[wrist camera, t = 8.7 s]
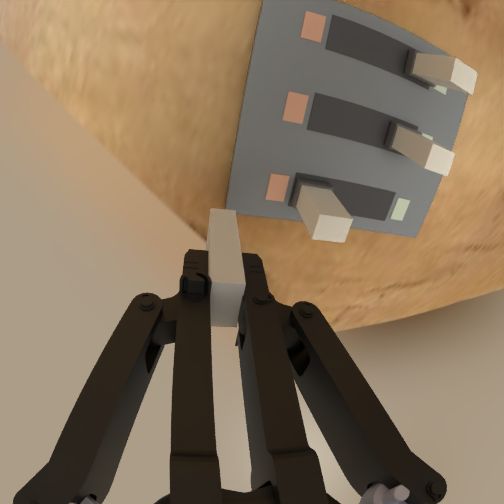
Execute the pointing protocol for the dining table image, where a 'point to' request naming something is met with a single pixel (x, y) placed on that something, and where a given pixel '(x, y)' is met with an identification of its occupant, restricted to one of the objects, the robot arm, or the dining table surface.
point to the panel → (337, 116)
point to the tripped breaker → (321, 211)
